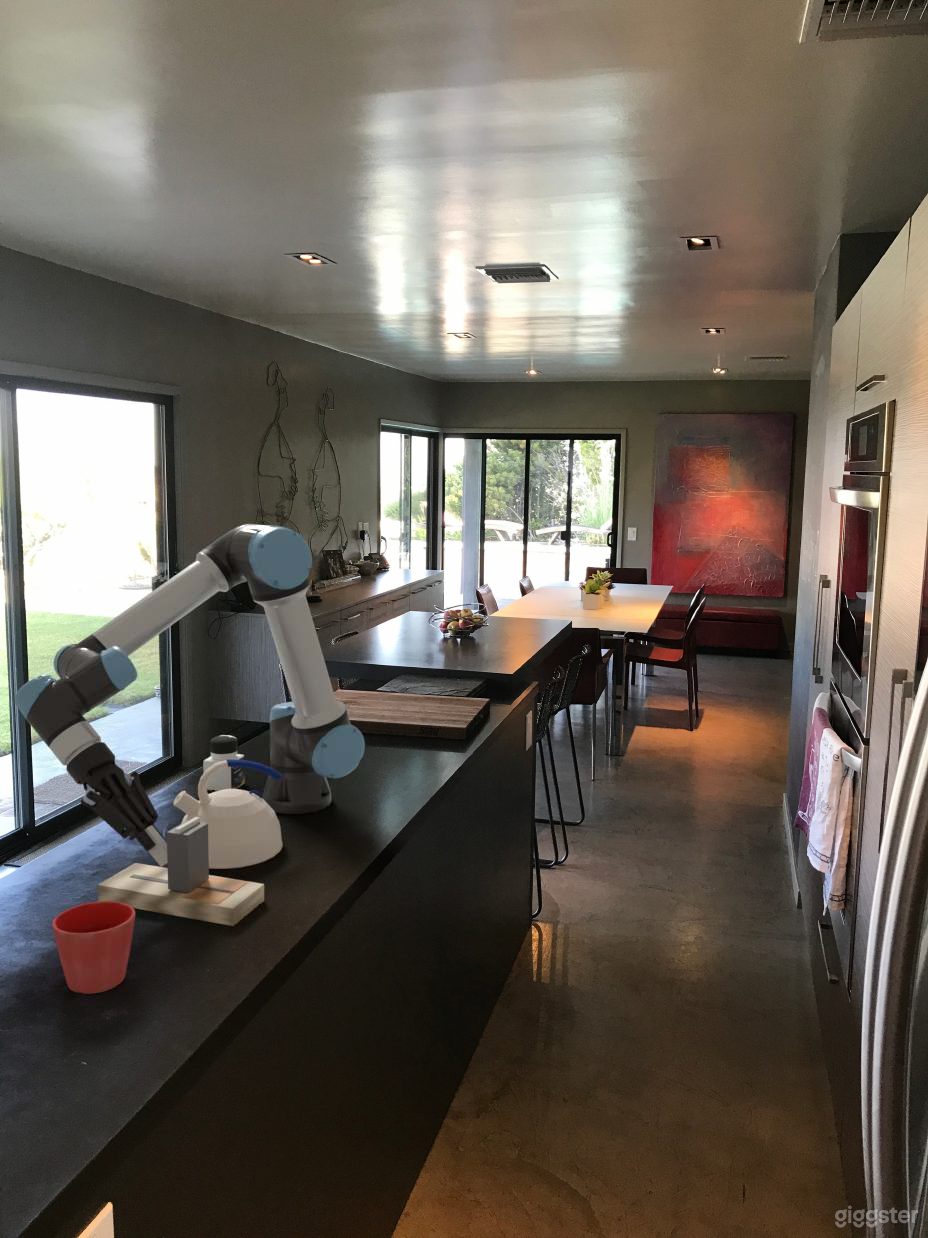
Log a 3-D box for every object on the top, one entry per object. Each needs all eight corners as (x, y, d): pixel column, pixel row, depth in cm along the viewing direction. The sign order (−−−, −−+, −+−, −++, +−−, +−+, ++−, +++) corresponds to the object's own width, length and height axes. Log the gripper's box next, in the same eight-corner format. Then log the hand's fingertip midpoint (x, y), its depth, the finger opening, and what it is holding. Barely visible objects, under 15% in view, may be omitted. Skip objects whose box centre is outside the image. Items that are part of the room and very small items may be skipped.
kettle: (168, 837, 189) (166, 750, 187) (271, 825, 197) (271, 741, 195) (181, 877, 171) (179, 781, 168) (293, 861, 179) (293, 769, 176)
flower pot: (69, 962, 139) (66, 900, 138) (144, 961, 140) (143, 899, 139) (43, 1001, 129) (40, 934, 128) (125, 999, 130) (123, 933, 129)
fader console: (98, 901, 160) (97, 884, 159) (135, 878, 169) (135, 862, 169) (233, 926, 152) (233, 908, 151) (264, 900, 161) (264, 883, 161)
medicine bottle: (231, 792, 217) (231, 742, 215) (203, 790, 218) (202, 740, 217) (245, 783, 224) (244, 734, 222) (217, 781, 225) (216, 732, 223)
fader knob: (168, 889, 157) (166, 827, 156) (188, 875, 163) (187, 815, 161) (188, 893, 156) (187, 830, 155) (208, 879, 162) (207, 818, 160)
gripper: (97, 757, 169) (178, 859, 166) (44, 778, 157) (130, 888, 154) (121, 731, 167) (203, 835, 164) (69, 750, 154) (157, 862, 152)
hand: (168, 860), depth 159 cm, fingers closed
